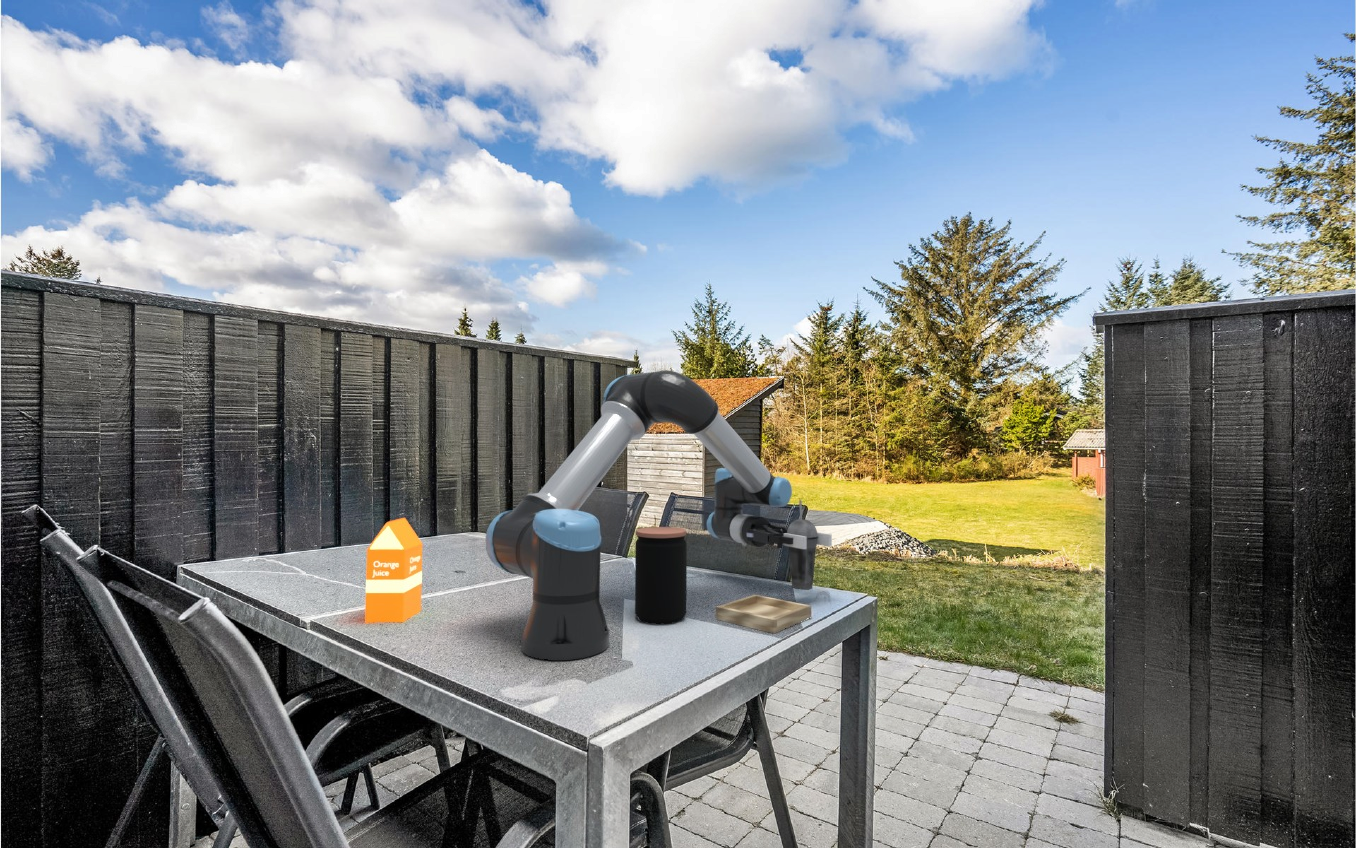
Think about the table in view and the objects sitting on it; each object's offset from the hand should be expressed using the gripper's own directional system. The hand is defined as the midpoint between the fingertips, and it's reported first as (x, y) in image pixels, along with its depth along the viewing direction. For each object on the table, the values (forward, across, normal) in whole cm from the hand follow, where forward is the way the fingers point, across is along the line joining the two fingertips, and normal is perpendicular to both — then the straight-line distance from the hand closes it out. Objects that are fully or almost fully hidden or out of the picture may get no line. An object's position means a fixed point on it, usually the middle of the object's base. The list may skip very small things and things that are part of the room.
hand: (818, 541), depth 130 cm
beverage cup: (-5, 0, -11) cm, 12 cm away
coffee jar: (-11, +34, -15) cm, 39 cm away
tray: (0, +16, -14) cm, 22 cm away
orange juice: (-41, +80, -15) cm, 92 cm away
